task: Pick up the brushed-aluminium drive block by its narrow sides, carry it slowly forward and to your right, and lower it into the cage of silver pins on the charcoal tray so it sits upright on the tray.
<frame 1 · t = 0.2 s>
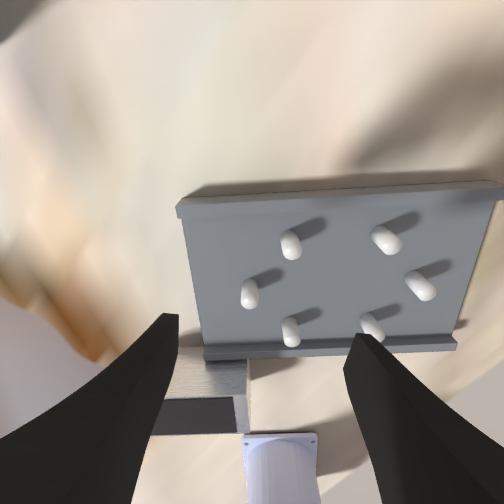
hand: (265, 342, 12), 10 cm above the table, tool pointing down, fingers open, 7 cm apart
pin tray: (327, 274, 22), on the table
drive: (200, 364, 26), on the table
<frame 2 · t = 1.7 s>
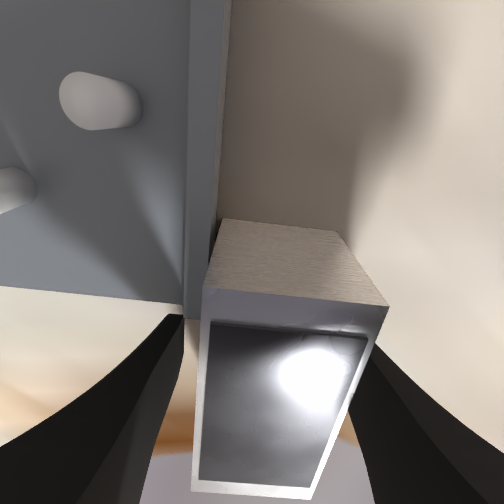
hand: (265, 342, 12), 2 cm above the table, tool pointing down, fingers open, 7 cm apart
drive: (263, 314, 13), on the table
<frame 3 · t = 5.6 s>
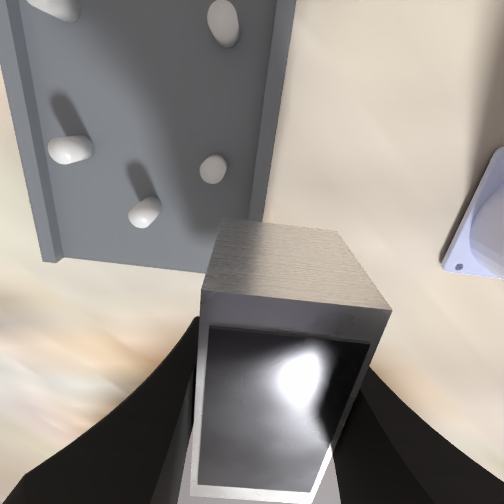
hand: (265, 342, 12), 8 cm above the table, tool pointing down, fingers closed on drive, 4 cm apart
pin tray: (155, 95, 15), on the table
drive: (263, 316, 13), point 7 cm above the table, touching gripper
when the fingers open (4 cm above the table, at t = 8.8 s): drive drops 1 cm, resting on pin tray.
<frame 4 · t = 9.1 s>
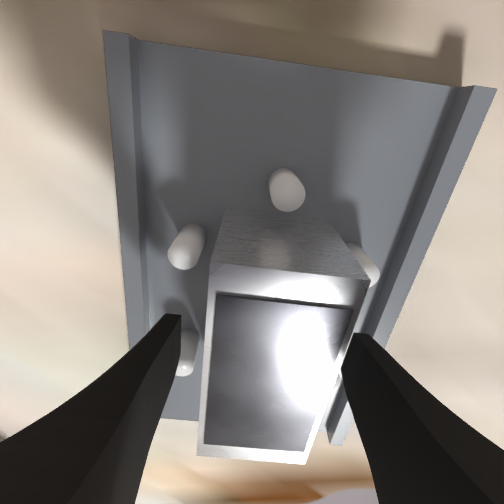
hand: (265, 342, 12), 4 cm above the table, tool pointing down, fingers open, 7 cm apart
pin tray: (262, 288, 15), on the table
drive: (263, 299, 14), point 1 cm above the table, touching pin tray
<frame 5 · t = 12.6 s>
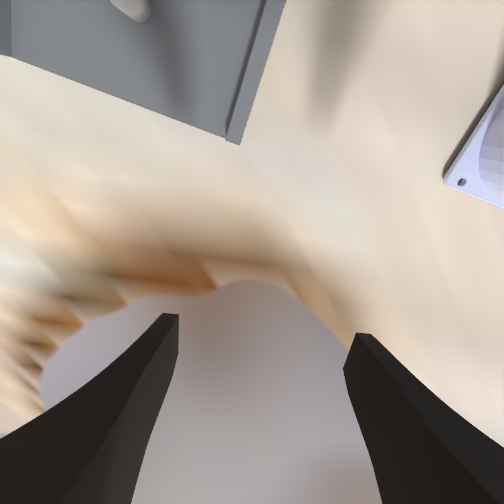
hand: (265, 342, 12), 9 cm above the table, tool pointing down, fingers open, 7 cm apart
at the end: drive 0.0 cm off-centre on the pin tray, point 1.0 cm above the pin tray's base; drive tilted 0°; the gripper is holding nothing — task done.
